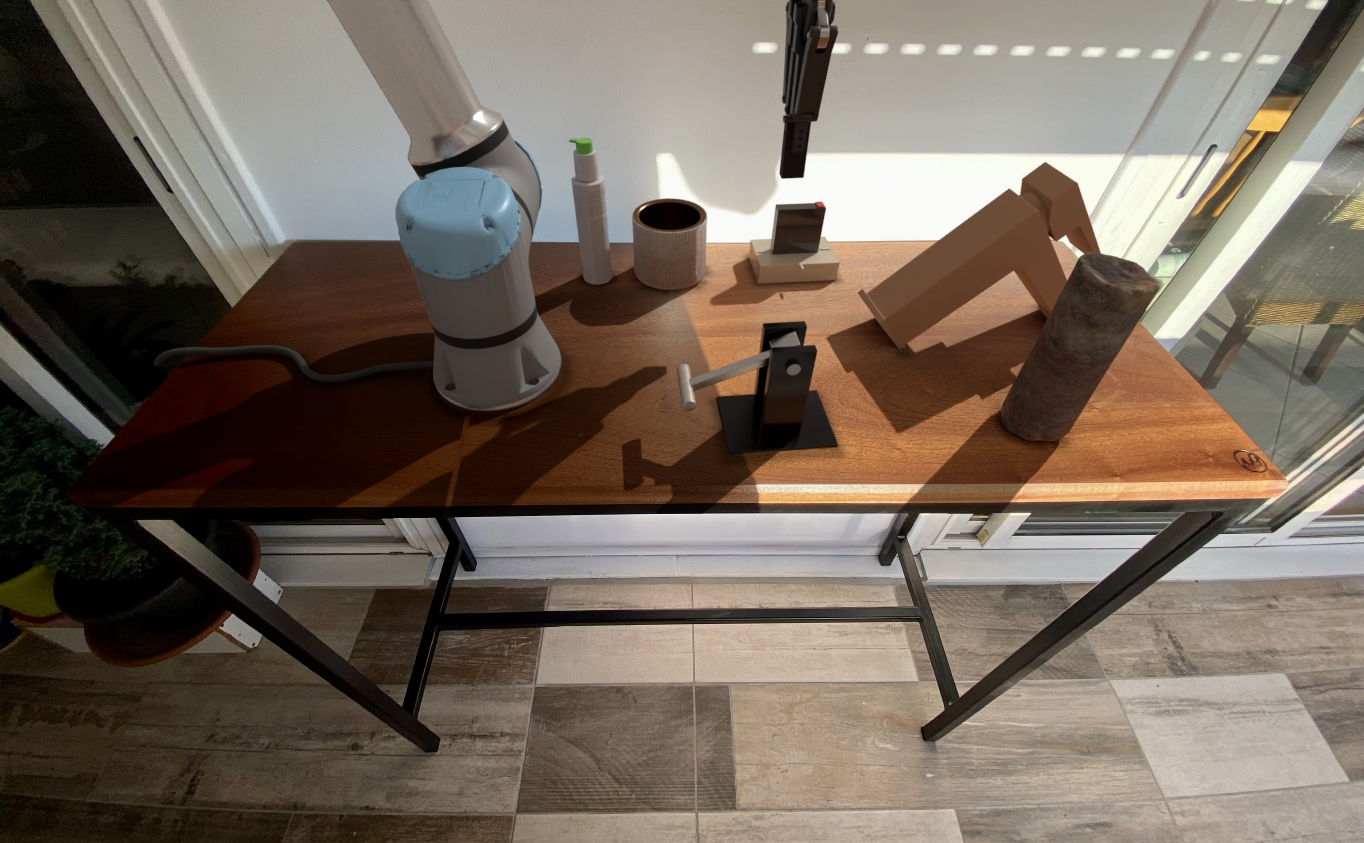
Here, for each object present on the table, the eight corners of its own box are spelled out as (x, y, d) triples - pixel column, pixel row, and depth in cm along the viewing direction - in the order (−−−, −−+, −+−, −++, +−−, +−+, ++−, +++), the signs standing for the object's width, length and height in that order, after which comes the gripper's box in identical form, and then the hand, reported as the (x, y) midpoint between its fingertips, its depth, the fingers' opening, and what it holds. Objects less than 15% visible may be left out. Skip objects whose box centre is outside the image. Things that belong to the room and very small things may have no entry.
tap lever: (686, 416, 61) (678, 401, 60) (681, 378, 65) (673, 363, 64) (810, 373, 59) (805, 356, 57) (795, 337, 63) (790, 320, 61)
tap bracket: (728, 460, 64) (737, 369, 55) (716, 403, 71) (722, 313, 62) (836, 452, 65) (862, 361, 56) (815, 397, 72) (835, 307, 63)
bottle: (597, 266, 93) (583, 131, 79) (618, 275, 91) (607, 139, 77) (577, 278, 90) (559, 141, 76) (598, 288, 88) (583, 149, 74)
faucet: (947, 410, 88) (1120, 303, 78) (879, 323, 73) (1080, 181, 64) (925, 379, 93) (1085, 275, 83) (857, 292, 78) (1040, 156, 69)
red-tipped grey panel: (772, 254, 90) (778, 208, 85) (770, 248, 91) (775, 202, 86) (817, 252, 90) (826, 206, 85) (814, 246, 92) (823, 201, 86)
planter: (717, 266, 93) (720, 207, 86) (685, 300, 86) (686, 239, 79) (656, 249, 97) (655, 191, 90) (621, 281, 90) (616, 221, 83)
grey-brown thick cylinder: (1002, 392, 73) (1081, 241, 59) (1068, 412, 70) (1166, 259, 56) (993, 432, 68) (1077, 278, 54) (1064, 454, 65) (1171, 299, 51)
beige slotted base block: (760, 289, 88) (762, 270, 86) (746, 251, 96) (748, 233, 94) (838, 285, 89) (843, 267, 87) (819, 248, 97) (822, 230, 95)
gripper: (881, -68, 51) (835, 198, 68) (842, -83, 61) (809, 154, 77) (796, -66, 51) (770, 200, 68) (769, -82, 60) (752, 156, 77)
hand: (791, 175), depth 73 cm, fingers closed
